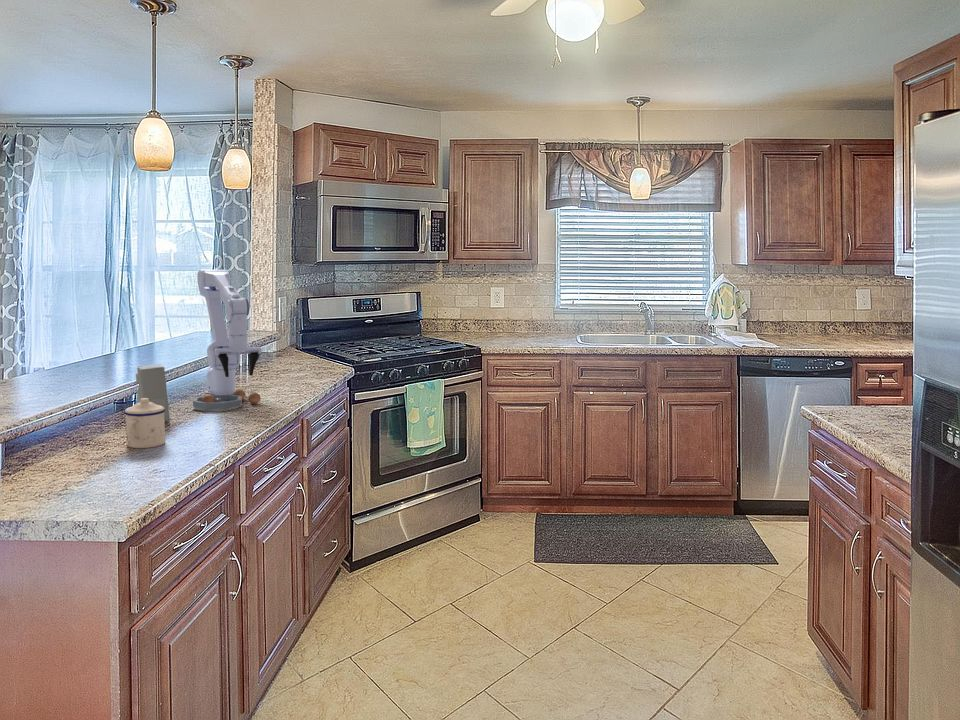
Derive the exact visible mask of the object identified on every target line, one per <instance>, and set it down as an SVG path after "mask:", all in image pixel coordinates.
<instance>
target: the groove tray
mask: <svg viewBox="0 0 960 720" xmlns="http://www.w3.org/2000/svg"><path fill="white" fill-rule="evenodd" d="M212 395H213V396H214V397H215V403H206V402H202V398H203V397H204V396H205V395H202V396H197V397H194V399H193V400H192V407H193V409H194V408H195V409H194V410H196V411H199V410H201V411H200V412H226V411H225V410H227V411H232V410H231V409H233V410H237V409H239V407H240V408H241V407H242V404H243V403H242V402H243V400H242V396H237V395H233V394H221V395H216V394H212ZM236 408H237V409H236Z"/></svg>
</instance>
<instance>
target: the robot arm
mask: <svg viewBox="0 0 960 720" xmlns="http://www.w3.org/2000/svg"><path fill="white" fill-rule="evenodd" d="M196 278H197V280H196V281H197V286H198V291H199V293H200V296H202V297H204V298H205V302H206V306H207V310H208V317H209V323H210V328H211V334H212V338H213V341H212V342H211V343H210V344H209V345H208V346H207V349H206V353H207V354H206V355H207V356H206V357H207V359H206V360H207V365H208V366H209V367H210V368H209V369H208V371H207V373H206V391H205V392H204V393H206V394H211V395H221V394H230V395H233V394H234V392H235V391H236V390H237V389H236V388H237V387H236V386H237V385H236V383H237V382H236V369H237V367H239V365H240V363H241V355H246V354H247V356H248V373H249V374H248V375H249V376H252V377H253V375H254V370H255V367H256V364H257V362H258V359H259V357H260V354H262V351H263V350H262V349H263V348H262V346H248V316H249V315H250V308H251V307H250V302H249V299H248V298H247V297H242V296H241V295H240V293H239V291H238V290H237V289H236V288H235V287H234V286H231V285H230V284H231V274H230V272H229V271H228V269H204V268H203V269H202V268H200V269H199V270H198V271H197V277H196ZM222 302H223V304H224V309H225V314H226V320H225V315H224V310H223V304H222ZM226 321H227V323H228V325H227V324H226ZM227 326H228V331H227Z"/></svg>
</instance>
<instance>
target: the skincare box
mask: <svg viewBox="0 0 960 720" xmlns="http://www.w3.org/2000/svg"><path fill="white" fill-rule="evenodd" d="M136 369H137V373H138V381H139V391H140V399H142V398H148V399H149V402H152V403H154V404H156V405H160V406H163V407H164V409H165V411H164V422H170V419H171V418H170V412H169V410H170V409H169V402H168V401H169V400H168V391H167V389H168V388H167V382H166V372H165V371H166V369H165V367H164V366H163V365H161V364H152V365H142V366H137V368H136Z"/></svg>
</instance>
